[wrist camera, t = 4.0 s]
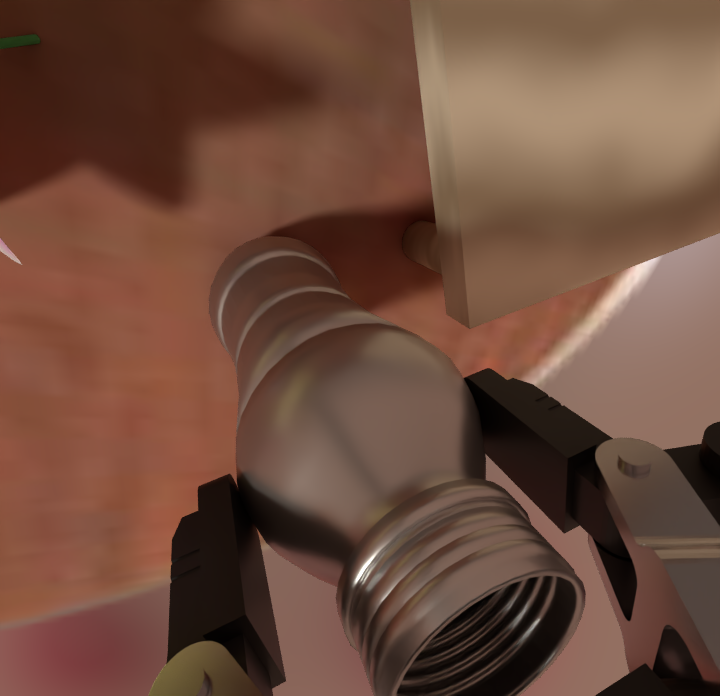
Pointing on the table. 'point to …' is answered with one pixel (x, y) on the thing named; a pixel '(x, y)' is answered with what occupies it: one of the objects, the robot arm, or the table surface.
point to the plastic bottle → (384, 484)
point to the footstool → (563, 142)
